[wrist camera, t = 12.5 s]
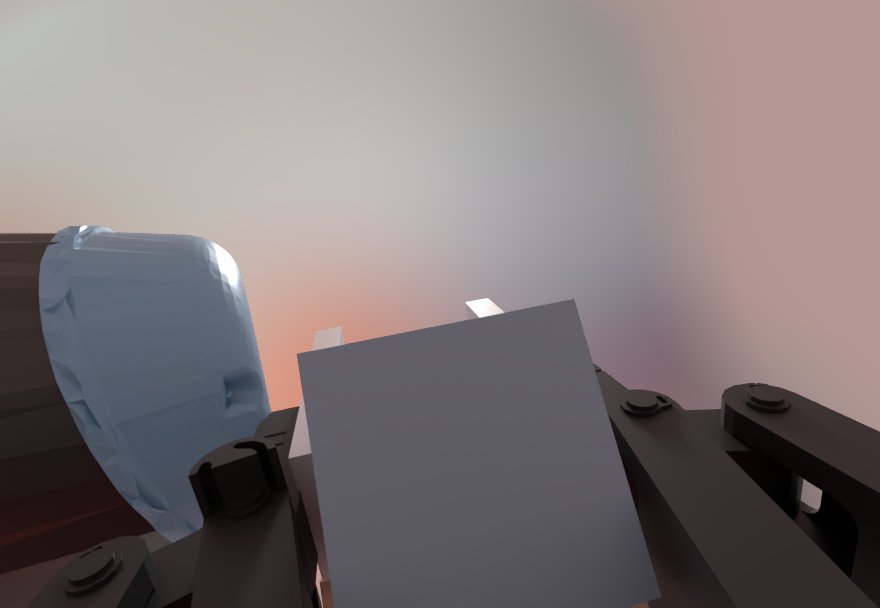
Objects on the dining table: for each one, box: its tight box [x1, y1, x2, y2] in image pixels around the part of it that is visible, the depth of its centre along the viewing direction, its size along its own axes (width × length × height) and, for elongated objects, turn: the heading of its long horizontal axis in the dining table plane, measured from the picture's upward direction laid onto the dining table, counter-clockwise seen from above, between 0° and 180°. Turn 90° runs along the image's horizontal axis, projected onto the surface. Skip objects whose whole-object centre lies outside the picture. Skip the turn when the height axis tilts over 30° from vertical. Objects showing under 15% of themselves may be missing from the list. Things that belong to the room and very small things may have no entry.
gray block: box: [297, 299, 661, 608], centre depth 16 cm, size 4×22×4 cm, turn 6°
